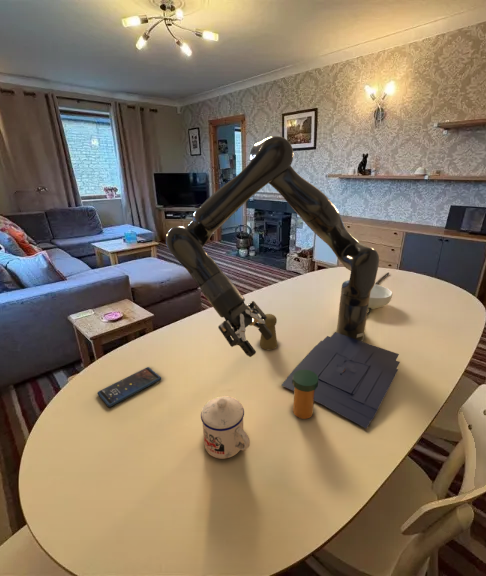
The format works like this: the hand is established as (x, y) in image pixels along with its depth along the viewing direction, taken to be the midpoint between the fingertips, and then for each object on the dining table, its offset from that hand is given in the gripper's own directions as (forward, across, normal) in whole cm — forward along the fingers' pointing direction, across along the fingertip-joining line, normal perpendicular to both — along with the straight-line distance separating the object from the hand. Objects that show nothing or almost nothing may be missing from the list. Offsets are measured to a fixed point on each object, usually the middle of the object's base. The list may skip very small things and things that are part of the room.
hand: (262, 346), depth 76 cm
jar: (+19, 0, +2) cm, 19 cm away
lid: (+12, 0, -5) cm, 13 cm away
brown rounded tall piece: (+4, +22, +18) cm, 29 cm away
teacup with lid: (+12, -17, +10) cm, 23 cm away
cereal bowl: (+20, +71, +2) cm, 74 cm away
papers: (+23, +18, -1) cm, 29 cm away
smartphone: (-12, -16, +34) cm, 39 cm away
